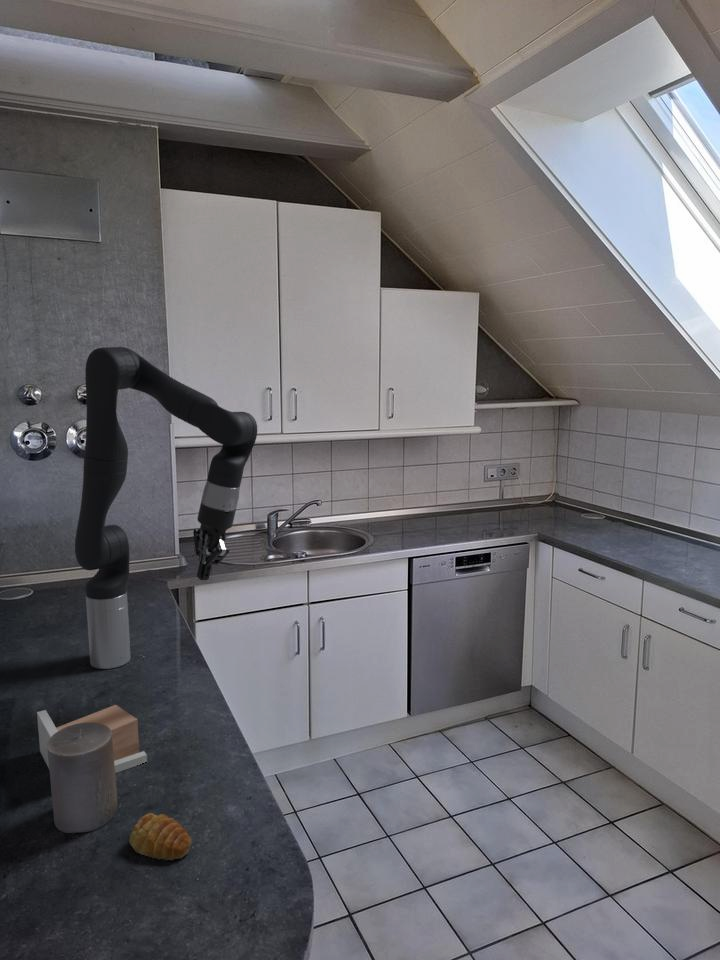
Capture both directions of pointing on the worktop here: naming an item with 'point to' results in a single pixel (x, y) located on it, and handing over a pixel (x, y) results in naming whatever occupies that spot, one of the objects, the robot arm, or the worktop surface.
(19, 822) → the worktop surface
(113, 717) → the wooden block
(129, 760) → the white frame piece
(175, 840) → the pastry
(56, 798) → the pillar candle
